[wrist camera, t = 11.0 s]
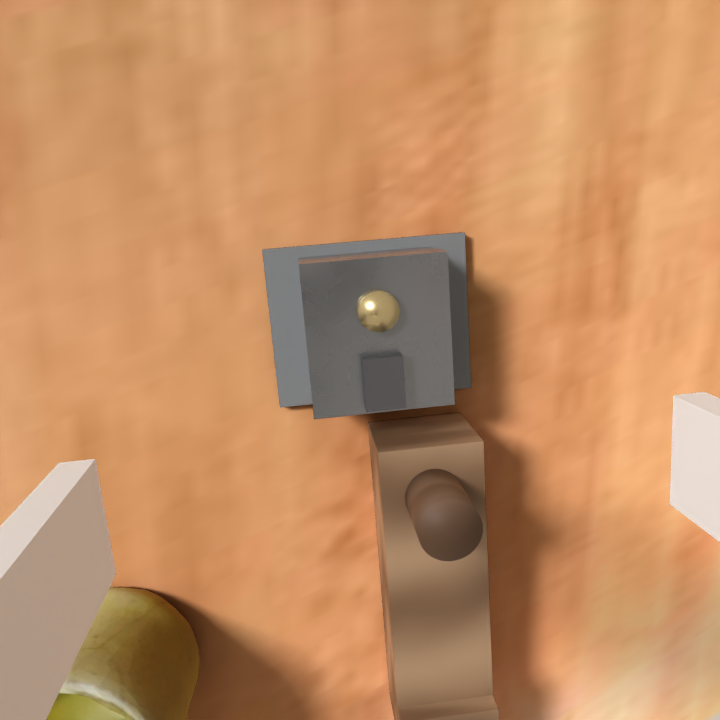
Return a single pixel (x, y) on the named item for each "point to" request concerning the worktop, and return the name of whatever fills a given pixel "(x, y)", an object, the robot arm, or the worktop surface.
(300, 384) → the mat
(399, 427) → the plane body
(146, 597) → the mug
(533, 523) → the worktop surface
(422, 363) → the lever cap
